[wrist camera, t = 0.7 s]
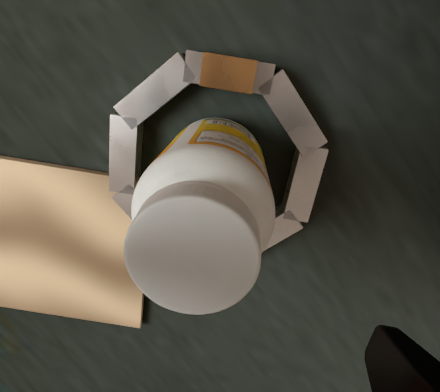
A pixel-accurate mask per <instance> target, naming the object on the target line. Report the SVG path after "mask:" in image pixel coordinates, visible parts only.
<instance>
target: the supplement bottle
mask: <svg viewBox="0 0 440 392" xmlns="http://www.w3.org/2000/svg"><path fill="white" fill-rule="evenodd" d="M131 217H132V223H131V225H130V226H129V228H128V231H127V234H126V238H125V241H124V260H125V264H126V268H127V270H128V273H129V275H130V277H131V278H132V280H133V282H134V283H135V284H136V286H137V287H138V288H139V289H140V290H141V292H142V293H144V294H145V295H146V296H147V297H148V298H149V299H151V300H152V301H154V302H155V303H157V304H158V305H160V306H162V307H164V308H167V309H169V310H172V311H175V312H180V313H185V314H197V315H198V314H209V313H214V312H218V311H221V310H224V309H226V308H228V307H230V306H232V305H234V304H236V303H237V302H239V301H240V300H241V299H242V298H243V297H244V296H245V295H246V294H247V293H248V292H249V291H250V290H251V288H252V287H253V285H254V284H255V282H256V279H257V277H258V274H259V271H260V265H261V254H262V252H263V251H264V249H265V248H266V246H267V245H268V243H269V241H270V238H271V236H272V233H273V229H274V224H275V202H274V197H273V192H272V189H271V185H270V181H269V177H268V173H267V169H266V166H265V162H264V157H263V154H262V151H261V148H260V146H259V144H258V142H257V140H256V139H255V137H254V136H253V135H252V134H251V133H250V132H249V131H248V130H247V129H246V128H245V127H243V126H242V125H240V124H238V123H236V122H234V121H232V120H228V119H224V118H205V119H202V120H198V121H196V122H194V123H192V124H190V125H189V126H187V127H186V128H185V129H183V130H182V131H181V132H180V133H179V134H178V135H177V136H176V137H175V138H174V140H173V141H172V142H171V143H170V144H169V145H168V146H167V147H166V148H165V149H164V151H163V152H162V153H161V154H160V155H159V156H158V157H157V158H156V159H155V160H154V161H153V162H152V163H151V164H150V165H149V166H148V168H147V169H146V170H145V171H144V173H143V174H142V176H141V177H140V179H139V181H138V183H137V185H136V188H135V191H134V193H133V198H132V205H131Z"/></svg>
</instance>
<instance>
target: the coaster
mask: <svg viewBox="0 0 440 392" xmlns="http://www.w3.org/2000/svg"><path fill="white" fill-rule="evenodd" d="M138 181H139V180H138ZM115 193H116V192H113V191H109V173H107V172H101V171H95V170H89V169H83V168H76V167H70V166H64V165H58V164H51V163H45V162H39V161H33V160H26V159H20V158H14V157H8V156H1V155H0V306H1V307H7V308H14V309H20V310H26V311H33V312H39V313H46V314H52V315H58V316H65V317H71V318H78V319H84V320H90V321H97V322H103V323H110V324H116V325H122V326H129V327H135V328H140V327H141V324H142V317H143V303H144V293H142V292H141V290H140V289H139V288H138V287H137V286H136V284H135V283H134V282H133V280H132V278H131V277H130V275H129V273H128V270H127V268H126V264H125V260H124V241H125V238H126V234H127V231H128V228H129V226H130V225H131V223H132V220H131V218H130V217H129V216H128V215H127V214H126V213H125V212H124V211H123V210H122V209H121V207H120V206H119V205H118V204H117V203H116V202H115V201H114V200H113V199H112V198H111V197H112V196H113V195H114V194H115Z"/></svg>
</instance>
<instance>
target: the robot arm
mask: <svg viewBox="0 0 440 392" xmlns="http://www.w3.org/2000/svg"><path fill="white" fill-rule="evenodd" d="M365 364H366V368H367V372H368V377H369V381H370V385H371V389H372V392H440V362H439V361H438V360H437V359H436V358H434V357H433V356H432V355H431V354H429V353H428V352H427V351H426V350H424V349H423V348H422V347H421V346H419V345H418V344H417V343H416V342H414V341H413V340H412V339H411V338H409V337H408V336H407V335H406V334H405V333H403V332H402V331H401V330H399V329H398V328H396V327H391V326H385V325H378V326H377V327H376V328H375V330H374V332H373V334H372V336H371V339H370V341H369V343H368V345H367V348H366V350H365Z"/></svg>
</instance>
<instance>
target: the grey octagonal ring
mask: <svg viewBox="0 0 440 392" xmlns="http://www.w3.org/2000/svg"><path fill="white" fill-rule="evenodd" d="M275 66H276V64H270V63H264V62H258V61H256V60H250V59H244V58H238V57H232V56H226V55H219V54H213V53H207V52H197V51H191V50H186V56H185V57H184V55H183V54H182V53H179V52H177V53H176V54H175V55H174V56H173V57H171V58H170V59H169V60H168V61H167V62H166V63H164V64H163V65H162V66H161V67H160V68H159V69H157V70H156V71H155V72H154V73H153V74H152V75H150V76H149V77H148V78H147V79H146V80H144V81H143V82H142V83H141V84H140V85H139V86H137V87H136V88H135V89H134V90H133V91H132V92H130V93H129V94H128V95H127V96H126V97H125V98H123V99H122V100H121V101H120V102H119V103H117V104H116V105H115V106H114V107H113V108H114V109H115V110H116V111H117V112H115V113H112V114H110V146H109V191H113V192H116V193H115V194H114V195H113V196H112V197H111V198H112V199H113V200H114V201H115V202H116V203H117V204H118V205H119V206H120V207H121V209H122V210H123V211H124V212H125V213H126V214H127V215H128V216H129V217H130V218H131V220H132V217H131V205H132V198H133V193H134V191H135V188H136V185H137V183H138V180H139V179H140V177H141V161H142V143H143V126H144V121H146V120H147V119H148V118H149V117H151V116H152V115H153V114H154V113H156V112H157V111H158V110H159V109H161V108H162V107H163V106H164V105H166V104H167V103H168V102H169V101H171V100H172V99H173V98H174V97H175V96H177V95H178V94H179V93H180V92H182V91H183V90H184V89H185V88H187V87H188V86H189V85H190V84H192V83H195V84H199V86H204V87H210V88H217V89H223V90H229V91H235V92H241V93H247V94H252V93H256V94H262V96H263V97H264V99H265V100H266V102H267V103H268V105H269V107H270V108H271V110H272V111H273V113H274V114H275V116H276V117H277V119H278V120H279V122H280V123H281V125H282V126H283V128H284V129H285V131H286V132H287V134H288V135H289V137H290V138H291V140H292V142H293V143H294V145H295V146H296V148H295V152H294V156H293V160H292V164H291V168H290V173H289V177H288V181H287V185H286V189H285V193H284V197H283V201H282V204H281V205H280V206H278V207H276V208H275V224H274V229H273V233H272V236H271V238H270V241H269V243H268V245H267V246H266V248H265V249H264V251H265V250H266V249H268V248H270V247H272V246H273V245H275V244H277V243H278V242H280V241H282V240H284V239H285V238H287V237H289V236H291V235H292V234H294V233H296V232H297V231H299V230H301V229H303V226H302V224H301V222H307V223H308V220H309V217H310V213H311V210H312V206H313V203H314V199H315V196H316V192H317V189H318V186H319V182H320V179H321V175H322V172H323V168H324V165H325V161H326V158H327V154H328V151H329V149H328V148H327V147H325V146H324V144H325V143H327V142H328V141H327V140H326V138H325V136H324V135H323V133H322V131H321V130H320V128H319V127H318V125H317V123H316V122H315V120H314V119H313V117H312V115H311V114H310V112H309V110H308V109H307V107H306V106H305V104H304V102H303V101H302V99H301V98H300V96H299V94H298V93H297V91H296V90H295V88H294V86H293V85H292V83H291V81H290V80H289V78H288V77H287V75H286V73H285V72H284V70H283V69H279V70H278V71H277V72H275V73H274V71H275Z"/></svg>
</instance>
